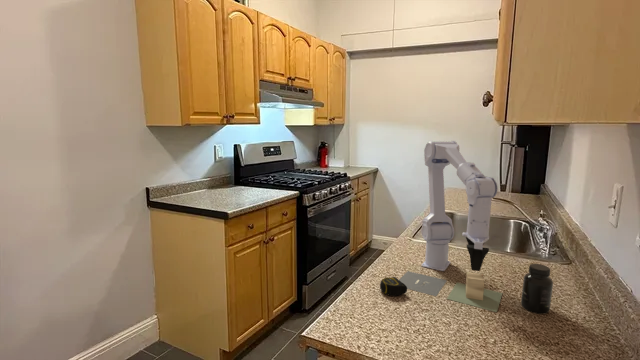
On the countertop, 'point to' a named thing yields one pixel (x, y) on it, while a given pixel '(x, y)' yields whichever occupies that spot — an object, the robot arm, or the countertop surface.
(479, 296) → the birch block
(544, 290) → the supplement bottle
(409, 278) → the tile
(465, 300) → the olive mat
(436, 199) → the robot arm
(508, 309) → the countertop surface
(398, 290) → the tape measure
